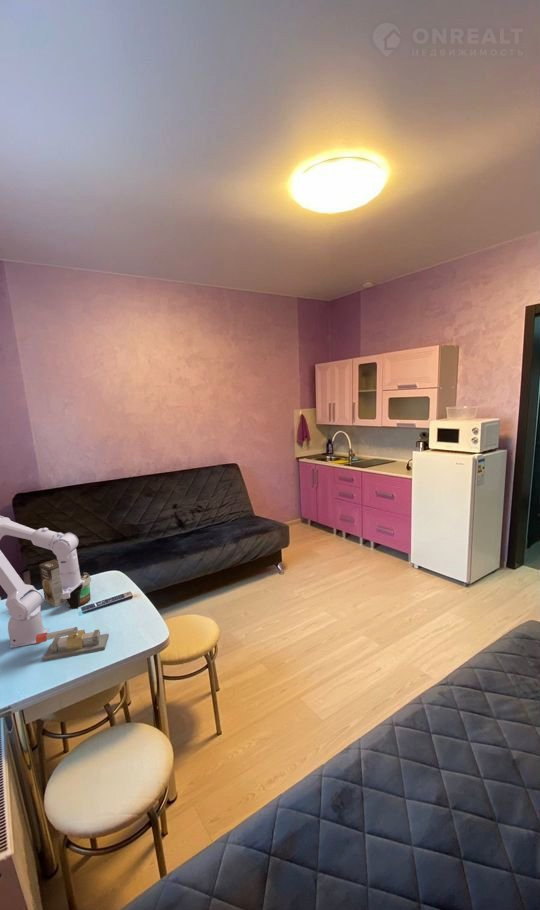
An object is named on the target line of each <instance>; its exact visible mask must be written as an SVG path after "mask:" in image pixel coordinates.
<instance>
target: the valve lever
mask: <svg viewBox="0 0 540 910" xmlns="http://www.w3.org/2000/svg"><path fill="white" fill-rule="evenodd" d="M78 631H79V629H78V626H75V627H74V626H73V627H70V628H65V629H62V630H57V631H52V632H47V633H42V634H37V636H36V643H35V644H40V643H45V642H47V641H50V640H54V639H55V638H59V637H60V638H63V637H68V635H72V634H73V636H75V635H77V634H78Z"/></svg>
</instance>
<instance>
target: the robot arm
mask: <svg viewBox="0 0 540 910" xmlns="http://www.w3.org/2000/svg"><path fill="white" fill-rule="evenodd" d="M4 536H11V537H16V538H20V539H25V540H27V541H28V540H29V541H31V543H32V545H34V546H36V547H40V548H43V549H46V550H50V551H52V553H53V554H54V555H55V556H56V560H58V564H59V570H60V576H61V583H62V585H61V587H62V597H63V599H66V600H67V601H68V602H67V604H68V603H69V605H70V607H71V608H70V609H71V610H77V609H79V608H80V607H79V603H80V593H81V589H82V587H83V584H84V583H85V580H81V576H82V575H81V572H80V565H79V559H78V551H77V547H78V545H79V543H80V542H79V541H80V540H79V538H78V536H77V535H76V534H74V533H72V532H66V533H63V532H57V531H53V530H50V529H49V528H48V527H41V528H39V529H34V528H31V527H28V526H26V525H23V524H20V523H18V522H15V521H12V520H11V518H9V517H5V516H2V515H0V540H1V539H2V538H3V537H4ZM0 586H1V588H2V589H3V590H4V592H5V593H6V594H7V597H6V601H5V606H6V608H7V610H8V615H9V616H10V618H9V620H8V622H7V631H8V637H9V642H10V645H9V648H13V649H14V648H17V647H24V646H28V645H29V646H30V645H33V644H37V643H36V636H37V634H42V633H48V632H49V628H48V627H45V628H44V623H43V618H42V611H41V608H42V604H43V602H44V594H43V592H41V591H39V590H38V589H36V588H35V586H34V585H31V584H26V583H25V582H24V581H23V580H22V578H21V577H20V575H19V574H18V573H17V571H16V570H15V568H14V567H13V566H12V564H11V563H10V561H9V560H8V559H7V557H6V556H5V554H4V553H3V551H2V550H1V549H0Z"/></svg>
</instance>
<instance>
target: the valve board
mask: <svg viewBox="0 0 540 910" xmlns="http://www.w3.org/2000/svg"><path fill="white" fill-rule="evenodd" d="M100 636H101V640H100V643H99V644H98V645H95V646H93V645H89V646H84V647H83V648H81V649H76V650H71V651H68V650H63V651H58V653H53V652H52V648H51V643H50V644H49V646H48V647H47V650H46V651H45V654H44V656H43V658H42V660H43V662H46V661H51V660H56V659H62V658H67V657H72V656H73V657H74V656H78V655H83V654H88V653H92V652H97V651H103V650H105V649H106V646H107V643H108V640H109V637H110V635H109V633H103V634H100Z"/></svg>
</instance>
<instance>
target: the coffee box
mask: <svg viewBox="0 0 540 910" xmlns="http://www.w3.org/2000/svg"><path fill="white" fill-rule="evenodd" d="M38 567H39V573H40V580H41V585H42V591H43V592H42V593H43V599H44V602H45V603H46V604H47V603H48V604H49V605H51V606H53V607H54V608H57V607H59V606H61V605H64V604H65V603H68V602H67V600H66V599H63V597H62V587H61V585H62V583H61V576H60V570H59V564H58V560H57V559H55V558H54V559H52V560H48V561H46V562H45V561H44V562H42V563H40V564H38Z"/></svg>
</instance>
